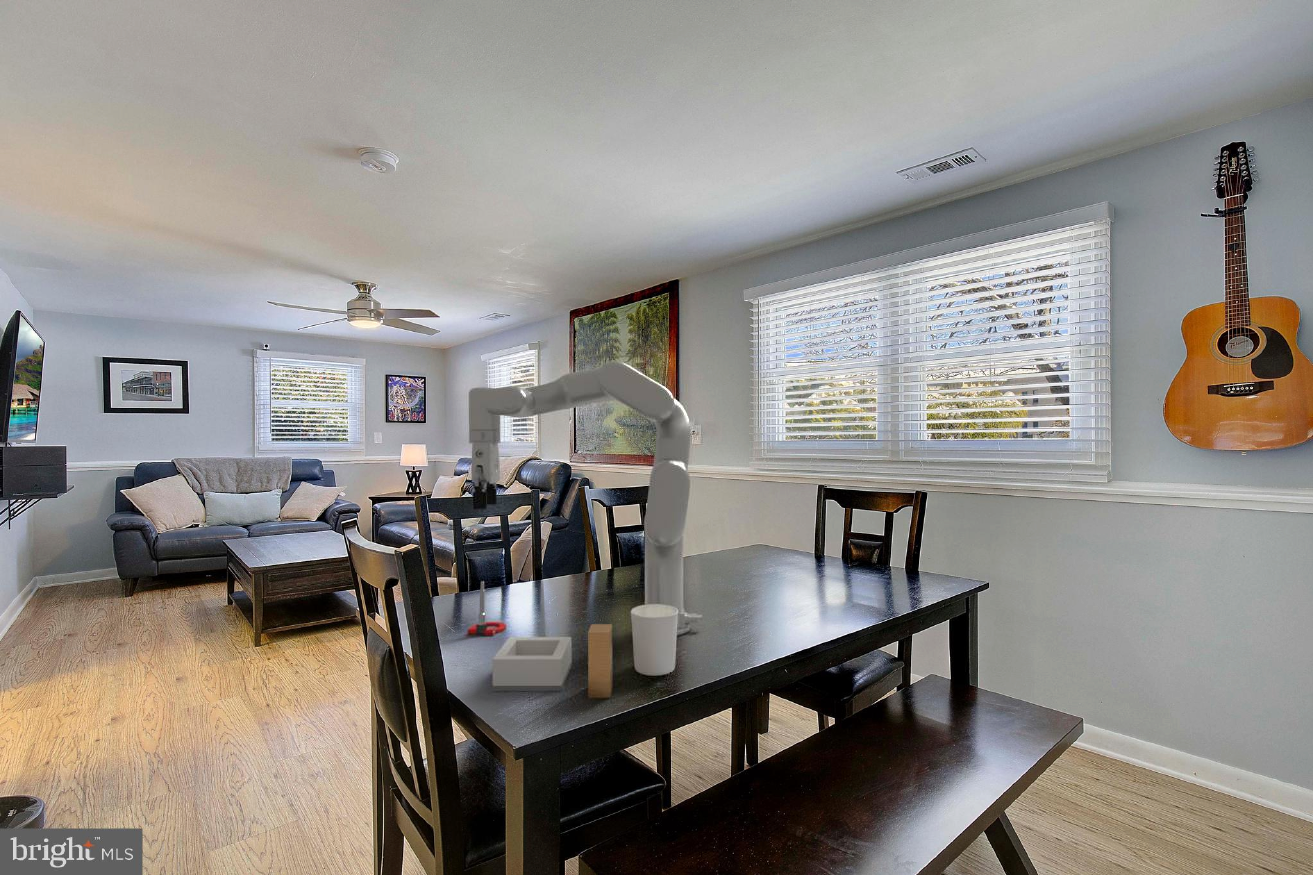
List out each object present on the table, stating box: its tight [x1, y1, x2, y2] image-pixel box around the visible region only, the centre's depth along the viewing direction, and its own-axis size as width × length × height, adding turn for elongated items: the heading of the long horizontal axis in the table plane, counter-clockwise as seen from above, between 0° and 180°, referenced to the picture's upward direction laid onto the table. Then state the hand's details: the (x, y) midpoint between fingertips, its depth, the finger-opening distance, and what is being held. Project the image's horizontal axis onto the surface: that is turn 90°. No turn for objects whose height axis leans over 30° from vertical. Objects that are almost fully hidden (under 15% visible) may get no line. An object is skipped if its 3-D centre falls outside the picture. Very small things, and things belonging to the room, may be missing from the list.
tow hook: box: [467, 581, 507, 637], centre depth 155 cm, size 8×13×9 cm
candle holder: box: [630, 604, 678, 677], centre depth 129 cm, size 10×10×12 cm
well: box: [492, 636, 572, 692], centre depth 124 cm, size 13×13×6 cm
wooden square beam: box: [587, 623, 613, 699], centre depth 117 cm, size 4×5×12 cm
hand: (485, 506), depth 154 cm, fingers open, 9 cm apart
